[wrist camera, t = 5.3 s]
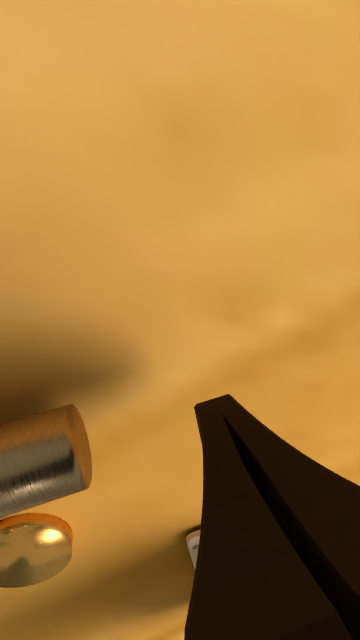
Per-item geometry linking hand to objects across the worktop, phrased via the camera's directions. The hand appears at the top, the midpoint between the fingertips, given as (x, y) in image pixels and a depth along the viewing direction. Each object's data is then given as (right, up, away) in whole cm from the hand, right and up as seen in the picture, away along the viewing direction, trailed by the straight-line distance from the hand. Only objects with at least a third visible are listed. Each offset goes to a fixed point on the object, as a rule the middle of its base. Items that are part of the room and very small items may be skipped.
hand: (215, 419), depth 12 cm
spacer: (-10, -8, +5) cm, 14 cm away
